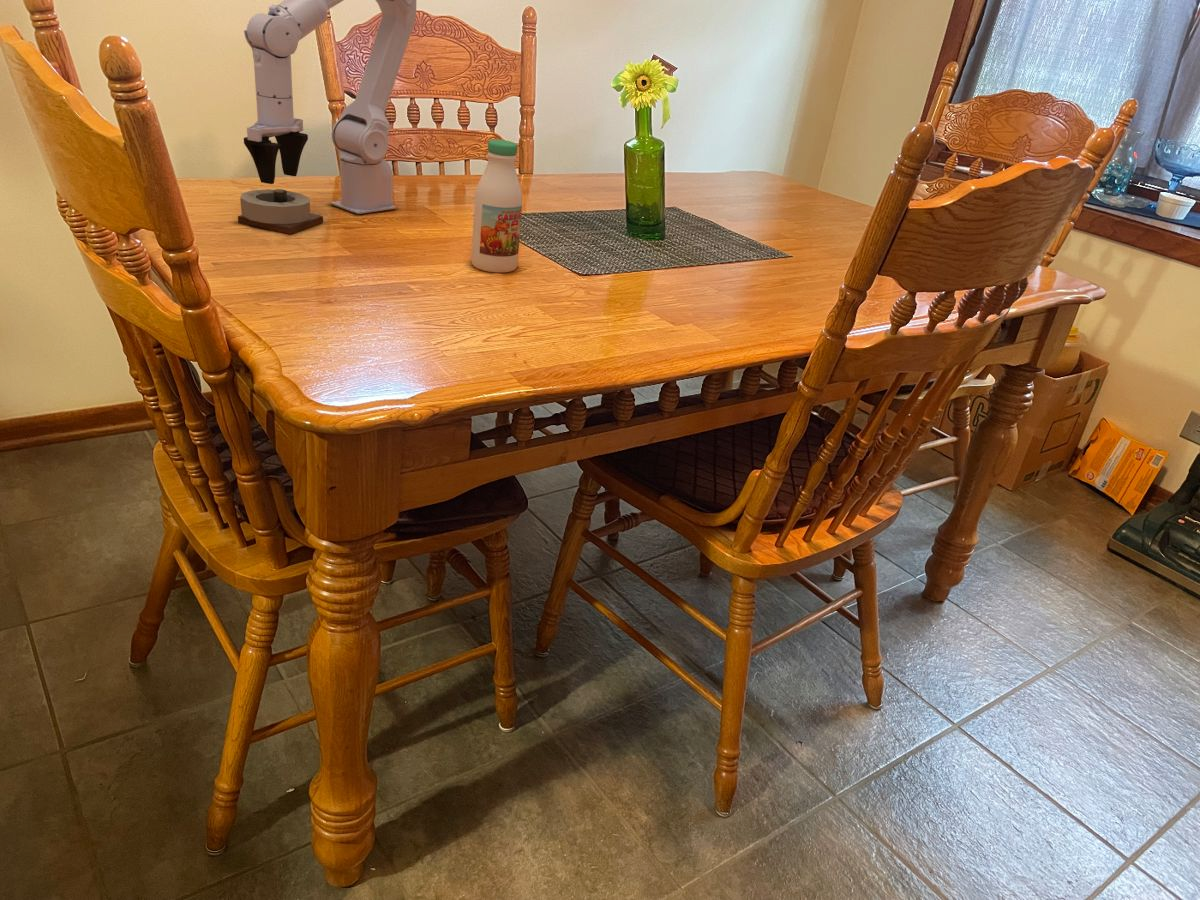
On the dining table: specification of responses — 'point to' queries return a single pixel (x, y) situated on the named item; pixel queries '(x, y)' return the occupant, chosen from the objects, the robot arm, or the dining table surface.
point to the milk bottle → (497, 211)
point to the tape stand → (281, 197)
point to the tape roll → (275, 207)
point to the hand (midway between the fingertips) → (279, 179)
